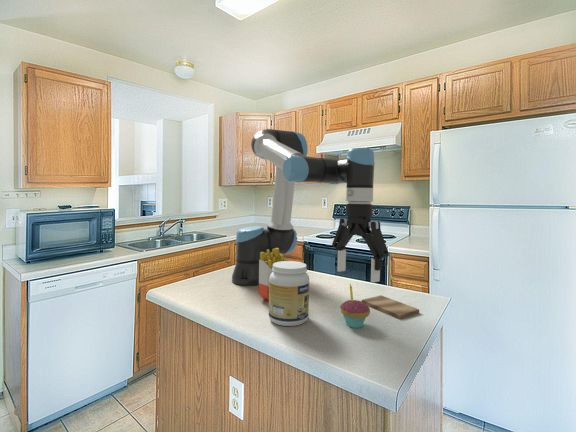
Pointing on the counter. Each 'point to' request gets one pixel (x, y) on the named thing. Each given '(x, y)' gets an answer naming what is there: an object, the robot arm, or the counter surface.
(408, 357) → the counter surface
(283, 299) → the supplement tub
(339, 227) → the robot arm
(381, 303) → the cutting board
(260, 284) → the french fries container
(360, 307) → the cupcake
